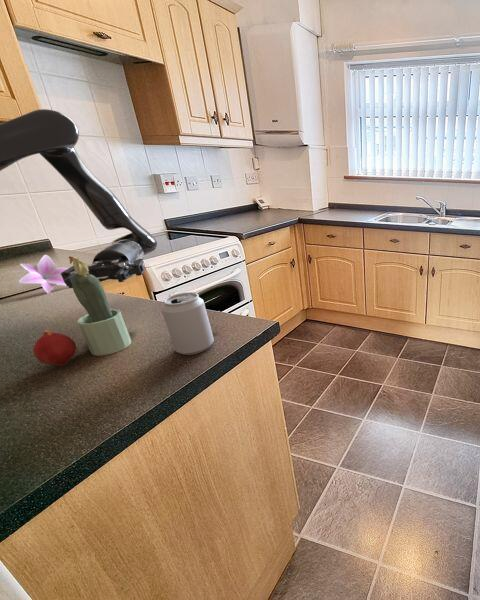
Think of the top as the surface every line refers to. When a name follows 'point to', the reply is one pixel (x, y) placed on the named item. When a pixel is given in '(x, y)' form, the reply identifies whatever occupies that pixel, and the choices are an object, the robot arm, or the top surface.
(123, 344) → the tube
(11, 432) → the top surface
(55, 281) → the lily
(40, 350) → the onion
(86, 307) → the vegetable
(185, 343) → the can
